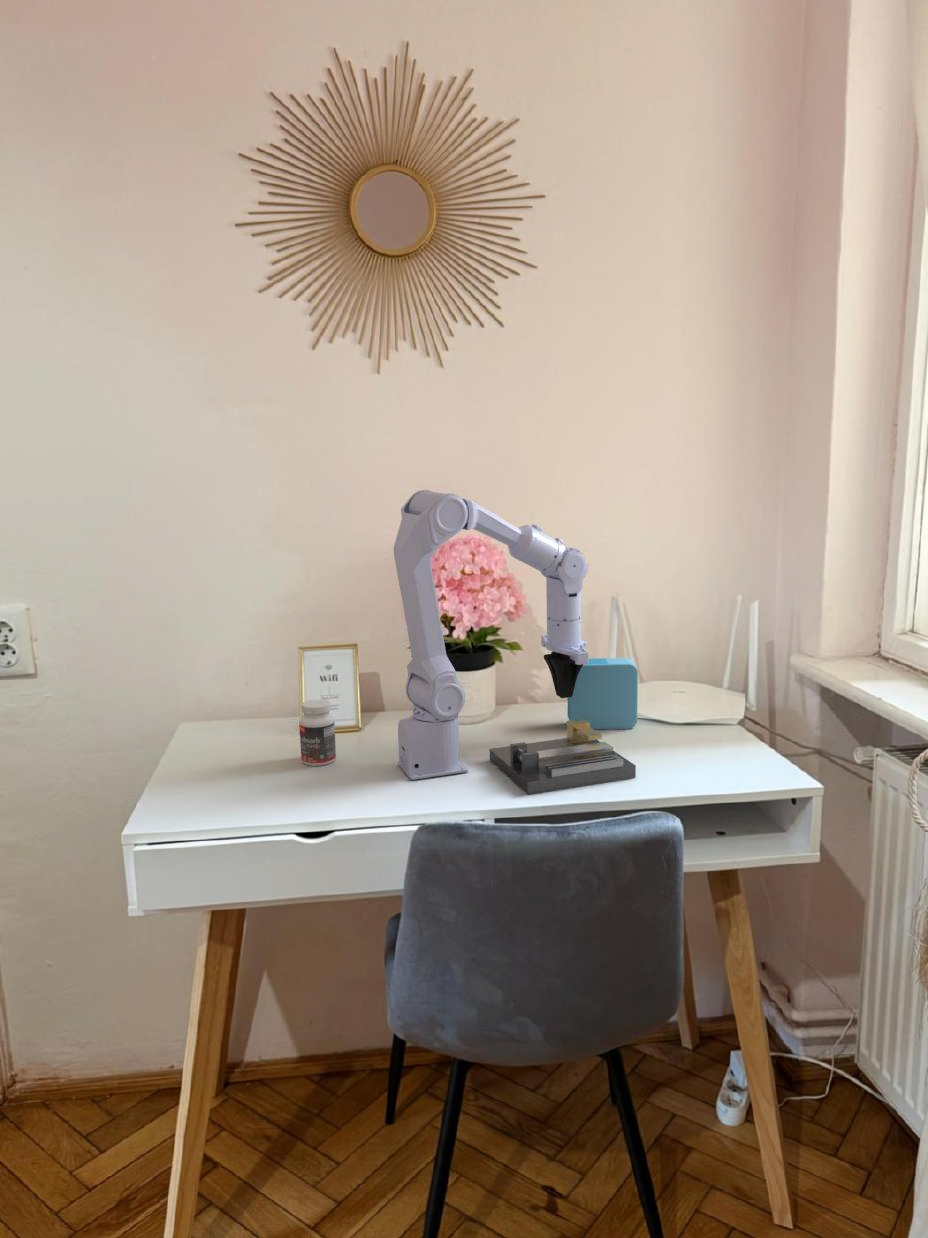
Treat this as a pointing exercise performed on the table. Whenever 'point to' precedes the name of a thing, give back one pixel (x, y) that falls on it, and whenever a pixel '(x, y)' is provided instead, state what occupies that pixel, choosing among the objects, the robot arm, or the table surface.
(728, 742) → the table surface
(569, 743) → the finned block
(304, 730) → the pill bottle
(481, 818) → the table surface
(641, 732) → the table surface
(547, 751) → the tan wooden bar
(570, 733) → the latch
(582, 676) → the data package
